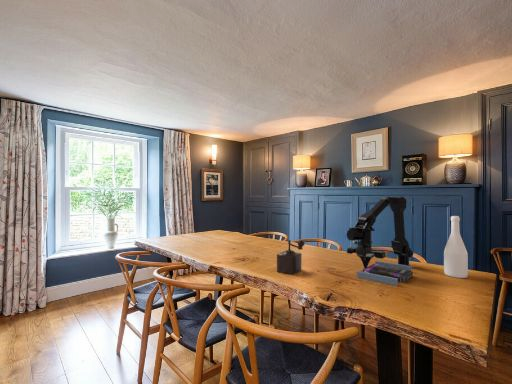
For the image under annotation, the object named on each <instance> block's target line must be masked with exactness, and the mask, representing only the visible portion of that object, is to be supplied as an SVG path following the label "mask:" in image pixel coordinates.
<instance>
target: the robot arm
mask: <svg viewBox="0 0 512 384" xmlns="http://www.w3.org/2000/svg"><path fill="white" fill-rule="evenodd" d="M388 206H389V208H390V210H391V211H392V213H393V227H394V239H393V240H391V247H390V248H391V249H392V252H393V254H394V255H397V264H400V265H406V266H412V264H410V258H413V257H414V251H413V250H412V249H411V248H410V244H409V242H408V240H407V238H406V232H405V218H404V215H405V214H404V212H405V210H406V209H407V199H406V198H405V197H404V196H381V198H380V200H378V202H377V203H376V204H374V205H373V206H372V207H371V209H370V210H369V211H367V212H365V213H363V214H361V215H360V216H358V218H357V221H356V223H355V224H354V226H353V227H349V228H348V230H347V232H346V237H347V239H348V240H349V241H358V244H357V246H356V247H355V246H350V247H348V248H347V249H346V253H347V254H350V255H353V254H354V253H356V256H357V257H359V259H360V260H361V262H362V265H363V269H365V268H367V267H369V264H370V262H371V260H372V259H373V258H374V257H375V258H376V259H385V258H387V255H386V252H385V251H383V250H376V251H373V249H372V243H373V240H372V232H375V228H373V226H374V224H375V223H376V220H377V218H378V216H379V215H380V214H381V213H382V212H383V211H384V210H385V209H386V208H387V207H388Z"/></svg>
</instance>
